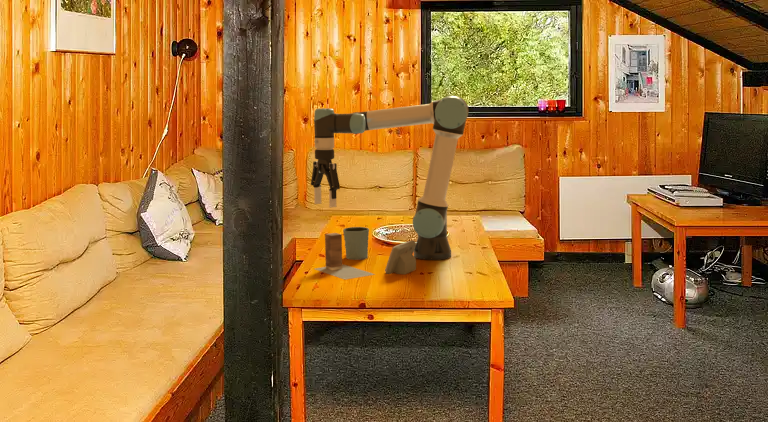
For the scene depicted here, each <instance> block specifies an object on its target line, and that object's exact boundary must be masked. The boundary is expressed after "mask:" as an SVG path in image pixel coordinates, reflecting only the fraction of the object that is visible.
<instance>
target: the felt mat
mask: <svg viewBox="0 0 768 422" xmlns="http://www.w3.org/2000/svg"><path fill="white" fill-rule="evenodd" d="M314 270H316V271H319V272H321V273H324V274H328V275H330V276H333V277H336V278H339V279H342V280H349V279H357V278H363V277H368V276H373V275H375V276H376V274H375V273H372V272H369V271H366V270H362V269H360V268H356V267H354V266H351V265H347V264H343V263H342V269H337V270H330V269H327V268H326V266H322V267H317V268H314Z"/></svg>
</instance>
